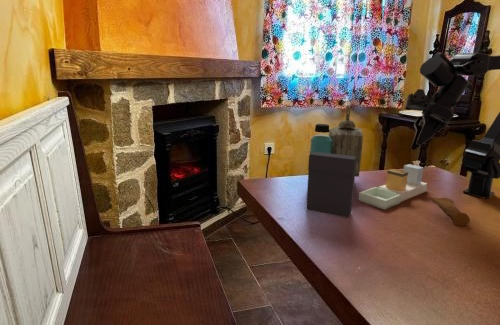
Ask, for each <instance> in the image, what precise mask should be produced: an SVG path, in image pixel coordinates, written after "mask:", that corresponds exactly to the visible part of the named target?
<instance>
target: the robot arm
mask: <svg viewBox="0 0 500 325" xmlns="http://www.w3.org/2000/svg"><path fill="white" fill-rule="evenodd" d="M495 70H498V71H499V70H500V55H489V54H487V53H481V52H469V53H467V52H466V53H457V54H455V55H454V57H453V58H451V59H450V60H449V59H448V58H447V56H446V54H444V53H443V52H436V53H435V54H434V55H433V56H432V57H430V58H428V59H427V60H426V61H424V62H423V63H422V65H421V66H420V68H419V73H420V74H421V76H423V78H425V79H426V80H427V81H429V83H431V85H433V87H437V88H438V89H437V91H435V92H434V93H433V95H431V96H428V94H426V93H425V90H424V89H421V88H417V89H416V90H415V92H414V93H409V94H407V97H406V102H405V107H404V109H405V111H406V110H407V111H411V110H412V111H418V112H421V114H422V115H421V116H420V115H419V116H418V118H417V119H416V120H415V122H414V124H413V127H414V129H415V135H414V138H413V141H412V142H411V146H410V149H411V151H415V150H417V149H418V148H419V147H421V146H422V145H423V144H424V143H426V142H427V141H429V140H430V139H431V138H432V137H434V136H435V135H436V134H438V133H439V132H440V131H441V130H442V129H444V128H445V127H446V126H448V124H449V123H451V121H452V119H453V118H454V117H455V114H454V111H453V110H454V108H456V106H457V105H458V103H459V100H460V99H461V97H462V95H463V94H464V93H465V91H470V92H472V91H473V90H474V85H473V84H472V79H467V78H466V77H477V76H482V75H484V74H487V72H489V71H495ZM462 159H463V168H464V171H465V172H469V173H470V177H469V182H468V188H466V189H464V190H463V191H462V193H464V194H468V195H472V196H476V197H480V198H483V199H488V198H490V197H492V196H494V195H495V192H494V191H492V186H493V182H494V179H495V180H496V179H497V180H498V179H500V111H499V112H498V114H497V115H496V117H495V118H494V119H493V122H492V123H491V125H490V126H489V128H488V130H487V131H486V133H485V134H484V135H483V138H481V139H479V140H474V139H473V140H471V142H470V143H469V144H468V146H467V148H466V149H465V150H464V154H463V156H462Z"/></svg>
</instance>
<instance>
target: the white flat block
mask: <svg viewBox="0 0 500 325" xmlns="http://www.w3.org/2000/svg"><path fill="white" fill-rule="evenodd" d="M378 188H381V189H384V190H388V191H391V192H394V193H398V194H401V202H404V201H407V200H408V199H411V198H413V197H415V196H418V195H421V194H423V193H426V192H427V188H428V183H427V182H424V181H421V183H420V184H418V185H414V184H410V183H407V184H406V189H405V190H402V191H398V190H395V189H391V188H388V187H386V184H383V185H380V186H378Z"/></svg>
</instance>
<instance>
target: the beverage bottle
mask: <svg viewBox="0 0 500 325" xmlns="http://www.w3.org/2000/svg"><path fill="white" fill-rule="evenodd" d="M329 130H330V125H329V124H328V123H327V124H326V123H317V124H315V127H314V132H316V133H329ZM331 147H332V139H331V138H330V137H329V135H327V134H314V135H313V136H312V137H311V138H310V149H309V155H310V154H311V153H313V152H321V153H330V154H331ZM309 155H308V156H309ZM308 174H309V171H308ZM308 174H307V175H308Z"/></svg>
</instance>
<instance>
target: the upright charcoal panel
mask: <svg viewBox="0 0 500 325" xmlns="http://www.w3.org/2000/svg"><path fill="white" fill-rule="evenodd" d="M309 154H310V153H309ZM356 159H357V158H356V157H355V156H347V155H338V154H330V153H321V152H313V153H311V154H310V155H308V166H307V167H308V168H307V170H308V172H309V174H307V193H306V205H305V206H306V210H308V211H311V212H317V213H322V214H327V215H334V216H338V217H343V218H344V217H345V218H349V217H350V215H351V214H352V208H353V198H354V188H355V178H356V176H355V169H356Z"/></svg>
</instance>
